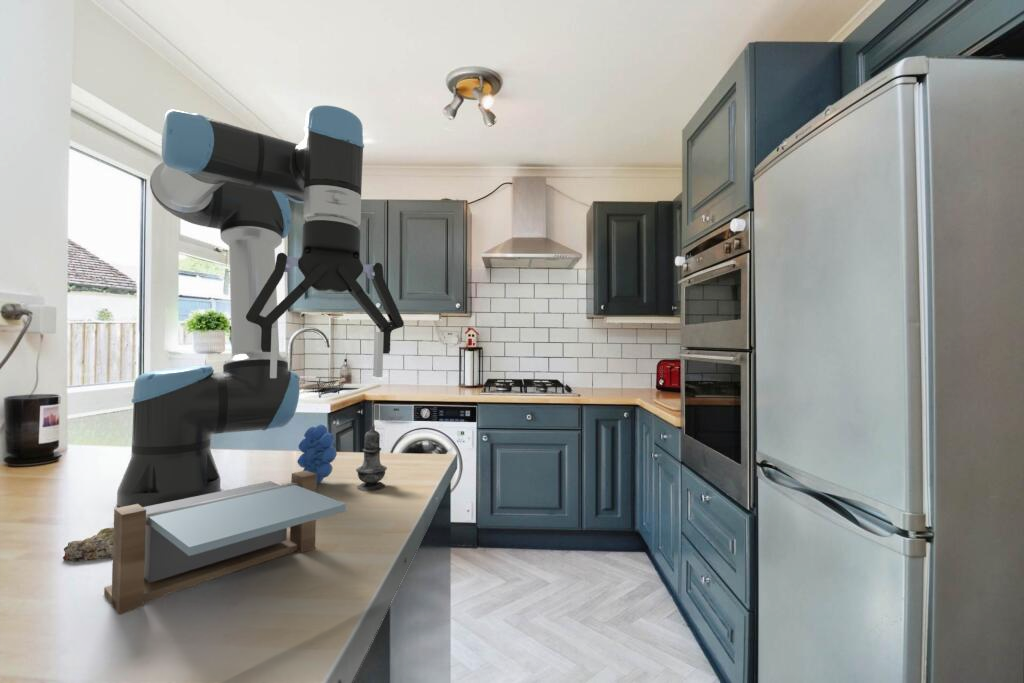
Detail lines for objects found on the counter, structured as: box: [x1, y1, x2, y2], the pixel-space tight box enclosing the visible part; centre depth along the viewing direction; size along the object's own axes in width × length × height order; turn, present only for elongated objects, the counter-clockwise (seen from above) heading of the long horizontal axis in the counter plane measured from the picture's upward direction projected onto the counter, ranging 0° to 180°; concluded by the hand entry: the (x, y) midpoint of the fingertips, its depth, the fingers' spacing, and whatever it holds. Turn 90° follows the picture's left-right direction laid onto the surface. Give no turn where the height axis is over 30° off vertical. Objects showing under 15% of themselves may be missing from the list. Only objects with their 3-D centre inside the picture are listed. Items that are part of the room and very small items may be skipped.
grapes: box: [296, 424, 338, 485], centre depth 95 cm, size 12×7×12 cm, turn 53°
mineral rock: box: [62, 527, 114, 563], centre depth 63 cm, size 11×4×8 cm
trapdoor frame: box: [103, 470, 318, 615], centre depth 58 cm, size 6×21×10 cm, turn 142°
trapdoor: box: [143, 480, 347, 583], centre depth 55 cm, size 18×16×8 cm
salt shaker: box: [355, 425, 388, 492], centre depth 93 cm, size 6×6×12 cm
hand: (327, 377), depth 65 cm, fingers open, 13 cm apart
